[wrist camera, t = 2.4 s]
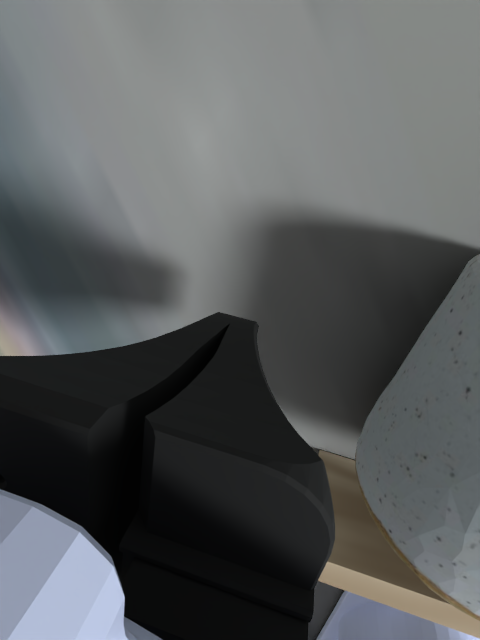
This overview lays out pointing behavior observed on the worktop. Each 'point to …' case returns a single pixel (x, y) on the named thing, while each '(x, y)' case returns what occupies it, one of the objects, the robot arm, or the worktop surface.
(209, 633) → the robot arm
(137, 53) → the worktop surface
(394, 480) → the ceramic mug
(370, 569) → the brown wooden pieces
